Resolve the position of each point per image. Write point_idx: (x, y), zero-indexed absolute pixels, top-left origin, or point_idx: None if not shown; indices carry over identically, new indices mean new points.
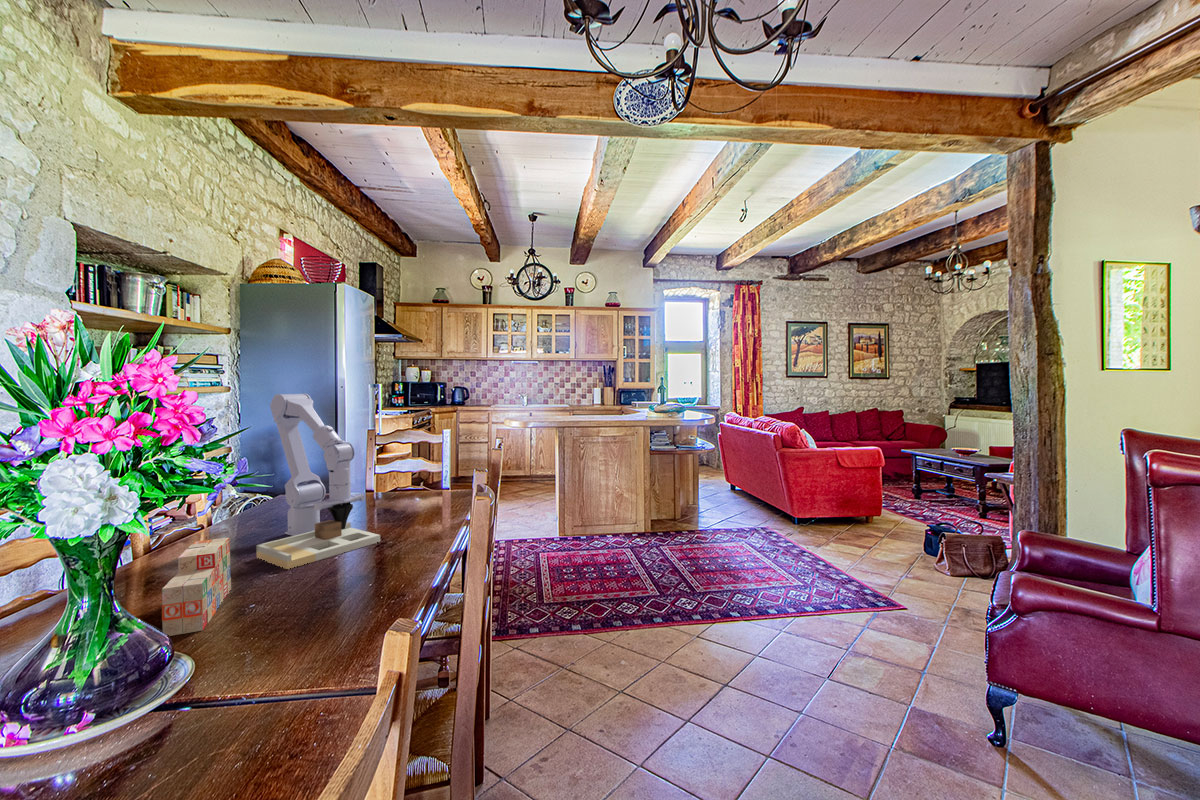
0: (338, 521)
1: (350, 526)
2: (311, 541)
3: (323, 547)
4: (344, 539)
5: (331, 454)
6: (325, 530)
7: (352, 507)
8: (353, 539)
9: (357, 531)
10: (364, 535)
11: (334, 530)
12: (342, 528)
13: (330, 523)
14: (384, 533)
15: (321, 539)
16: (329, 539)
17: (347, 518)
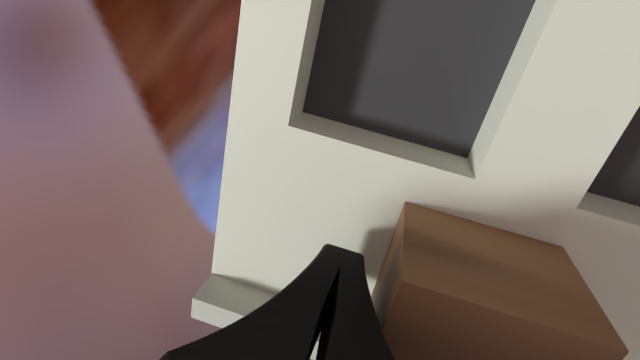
0: (391, 320)
1: (209, 277)
2: (615, 319)
3: (601, 198)
4: (519, 82)
5: None
6: (593, 304)
7: (172, 357)
8: (340, 123)
9: (266, 151)
10: (312, 15)
11: (480, 257)
12: (349, 254)
13: (492, 351)
14: (112, 12)
15: None
16: (541, 220)
17: (284, 289)
